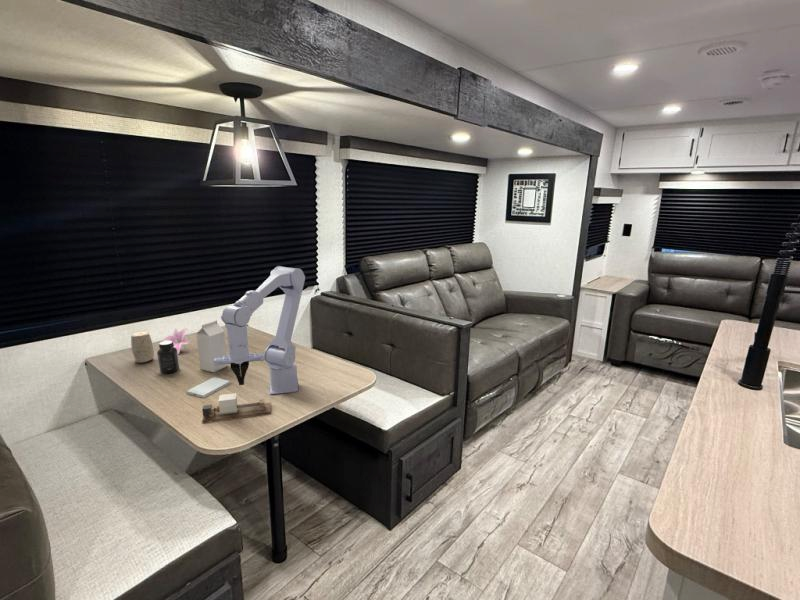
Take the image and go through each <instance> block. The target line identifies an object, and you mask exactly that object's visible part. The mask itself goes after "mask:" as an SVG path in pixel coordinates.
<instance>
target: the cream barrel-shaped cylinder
mask: <svg viewBox="0 0 800 600" xmlns="http://www.w3.org/2000/svg"><path fill="white" fill-rule="evenodd" d="M152 340H153V339H152V338H151V335H150V333H149V332H146V331H138V332H134V333H133V334H131V336H130V345H131V351H132V355H133V357H134V359H135V362H137V363H138V362H139V363H140V364H141V363H147V362H149V361H151V360H153V358H154V357H155V351H154V350H155V349H154V346H153V341H152Z"/></svg>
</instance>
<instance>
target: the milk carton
mask: <svg viewBox="0 0 800 600" xmlns="http://www.w3.org/2000/svg"><path fill="white" fill-rule="evenodd" d="M225 335H226V333H225V330H224V329H223V328H222V327H221V326H220V324H219V323H218V320H217V319H216V320H213V321H209V322H208V323H204V324H201V328H200V329H199V330H198V331H197V332H196V340H197V349H198V360H199V369H200V370H203V371H207V372H211V373H216V372H217V371H220V370H221V369H224V368H227V366H228V364H223V365H218V366H214V358H219V357H224V356H227V347H226V345H227V344H226V338H225V337H226V336H225Z"/></svg>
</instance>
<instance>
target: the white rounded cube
mask: <svg viewBox="0 0 800 600" xmlns="http://www.w3.org/2000/svg"><path fill="white" fill-rule="evenodd" d="M237 395H238V394H237V393H236V392H235V393H227V394H220V395H219V397H218V406H219V410H220V415H223V414H230V413H237V410H238V408H237V405H238V396H237Z"/></svg>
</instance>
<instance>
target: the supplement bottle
mask: <svg viewBox="0 0 800 600" xmlns="http://www.w3.org/2000/svg"><path fill="white" fill-rule="evenodd" d="M158 348H159V349H158V350H157V352H156V354H157V361H158V368H159V372H160V374H162V375H173V374H175V373H178V371H180V362H179V355H178V352H177V349H176V348H175V347H174V344H173V341H170V340H168V341H163V340H162V341H161V342H159V343H158Z"/></svg>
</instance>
